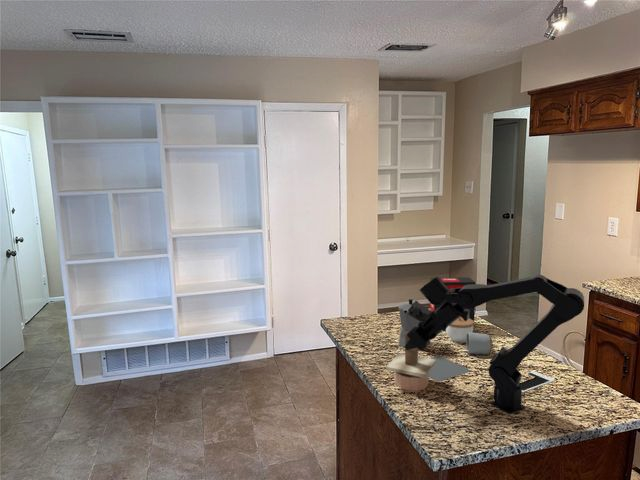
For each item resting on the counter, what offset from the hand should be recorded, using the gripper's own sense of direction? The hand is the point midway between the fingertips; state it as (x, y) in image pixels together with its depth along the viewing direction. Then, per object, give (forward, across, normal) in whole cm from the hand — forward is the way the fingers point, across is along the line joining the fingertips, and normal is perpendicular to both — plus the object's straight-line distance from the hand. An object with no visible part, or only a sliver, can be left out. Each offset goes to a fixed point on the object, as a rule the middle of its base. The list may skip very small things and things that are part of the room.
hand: (407, 346), depth 137 cm
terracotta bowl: (+8, 0, +9) cm, 12 cm away
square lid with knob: (+3, 0, +5) cm, 6 cm away
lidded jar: (+6, -46, +12) cm, 47 cm away
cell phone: (-14, -19, +32) cm, 39 cm away
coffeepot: (+16, -32, +1) cm, 36 cm away
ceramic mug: (-1, -36, +18) cm, 40 cm away
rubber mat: (+5, -15, +12) cm, 20 cm away
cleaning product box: (+10, -61, +7) cm, 62 cm away
